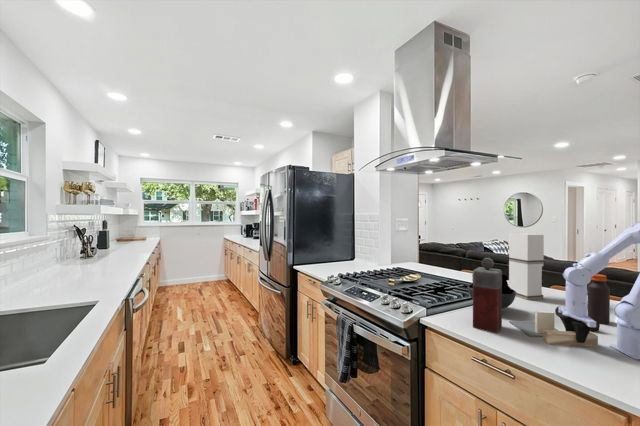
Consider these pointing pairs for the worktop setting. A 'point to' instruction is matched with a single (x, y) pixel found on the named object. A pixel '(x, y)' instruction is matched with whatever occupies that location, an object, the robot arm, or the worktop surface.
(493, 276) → the pepper grinder
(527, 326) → the mat
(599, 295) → the bottle
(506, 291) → the bowl of black rocks
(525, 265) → the banded white pillar
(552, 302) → the worktop surface
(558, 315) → the brown wooden log
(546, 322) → the tile
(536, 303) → the worktop surface
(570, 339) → the tan wooden plank
